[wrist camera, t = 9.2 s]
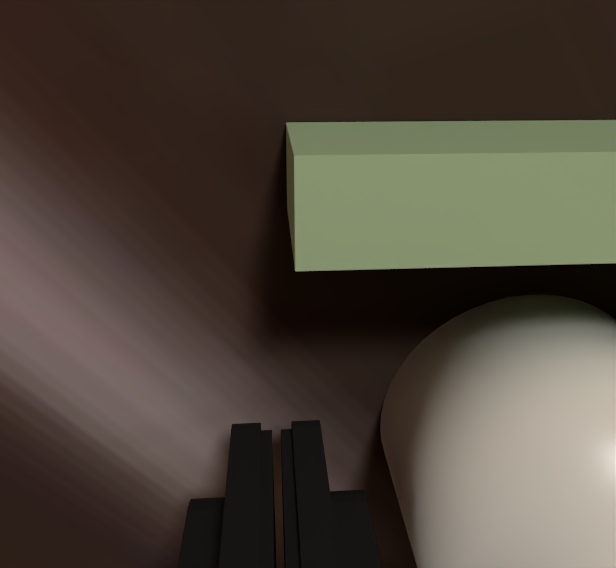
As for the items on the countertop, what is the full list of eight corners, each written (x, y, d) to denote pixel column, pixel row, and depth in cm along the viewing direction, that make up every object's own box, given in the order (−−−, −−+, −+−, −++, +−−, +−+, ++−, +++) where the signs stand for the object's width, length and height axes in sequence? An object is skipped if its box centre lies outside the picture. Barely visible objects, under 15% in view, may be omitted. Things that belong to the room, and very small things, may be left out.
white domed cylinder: (401, 288, 11) (484, 441, 7) (682, 299, 11) (922, 447, 7) (365, 512, 13) (410, 728, 9) (598, 513, 14) (741, 714, 9)
